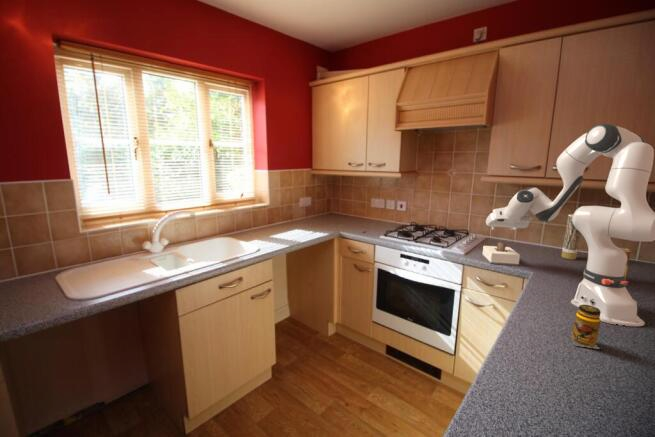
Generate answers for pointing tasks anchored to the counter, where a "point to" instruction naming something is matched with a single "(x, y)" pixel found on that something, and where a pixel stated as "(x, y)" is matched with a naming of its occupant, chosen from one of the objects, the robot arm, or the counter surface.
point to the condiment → (586, 325)
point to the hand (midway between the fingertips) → (502, 229)
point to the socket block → (501, 256)
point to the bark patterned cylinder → (570, 240)
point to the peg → (501, 247)
